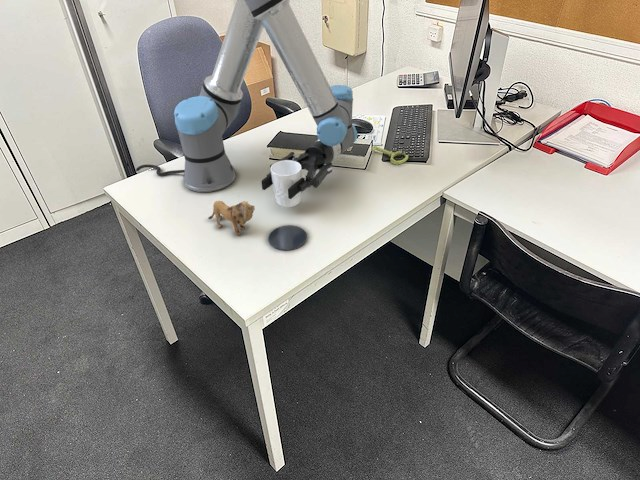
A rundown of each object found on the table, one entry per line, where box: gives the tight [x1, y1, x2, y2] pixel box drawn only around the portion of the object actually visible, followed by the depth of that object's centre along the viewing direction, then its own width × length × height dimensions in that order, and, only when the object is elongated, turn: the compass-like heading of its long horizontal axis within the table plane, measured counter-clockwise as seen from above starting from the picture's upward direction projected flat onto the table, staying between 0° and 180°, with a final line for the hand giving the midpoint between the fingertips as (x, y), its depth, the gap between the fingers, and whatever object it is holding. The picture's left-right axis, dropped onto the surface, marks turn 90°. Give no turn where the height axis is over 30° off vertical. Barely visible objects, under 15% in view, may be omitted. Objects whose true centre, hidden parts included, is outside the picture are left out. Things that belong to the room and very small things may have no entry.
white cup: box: [269, 160, 302, 208], centre depth 112 cm, size 8×8×10 cm
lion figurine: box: [208, 200, 256, 236], centre depth 108 cm, size 15×5×9 cm, turn 65°
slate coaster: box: [267, 224, 308, 252], centre depth 106 cm, size 10×10×1 cm
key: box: [370, 145, 409, 165], centre depth 136 cm, size 7×12×2 cm, turn 70°
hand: (276, 189), depth 108 cm, fingers closed on white cup, 8 cm apart
